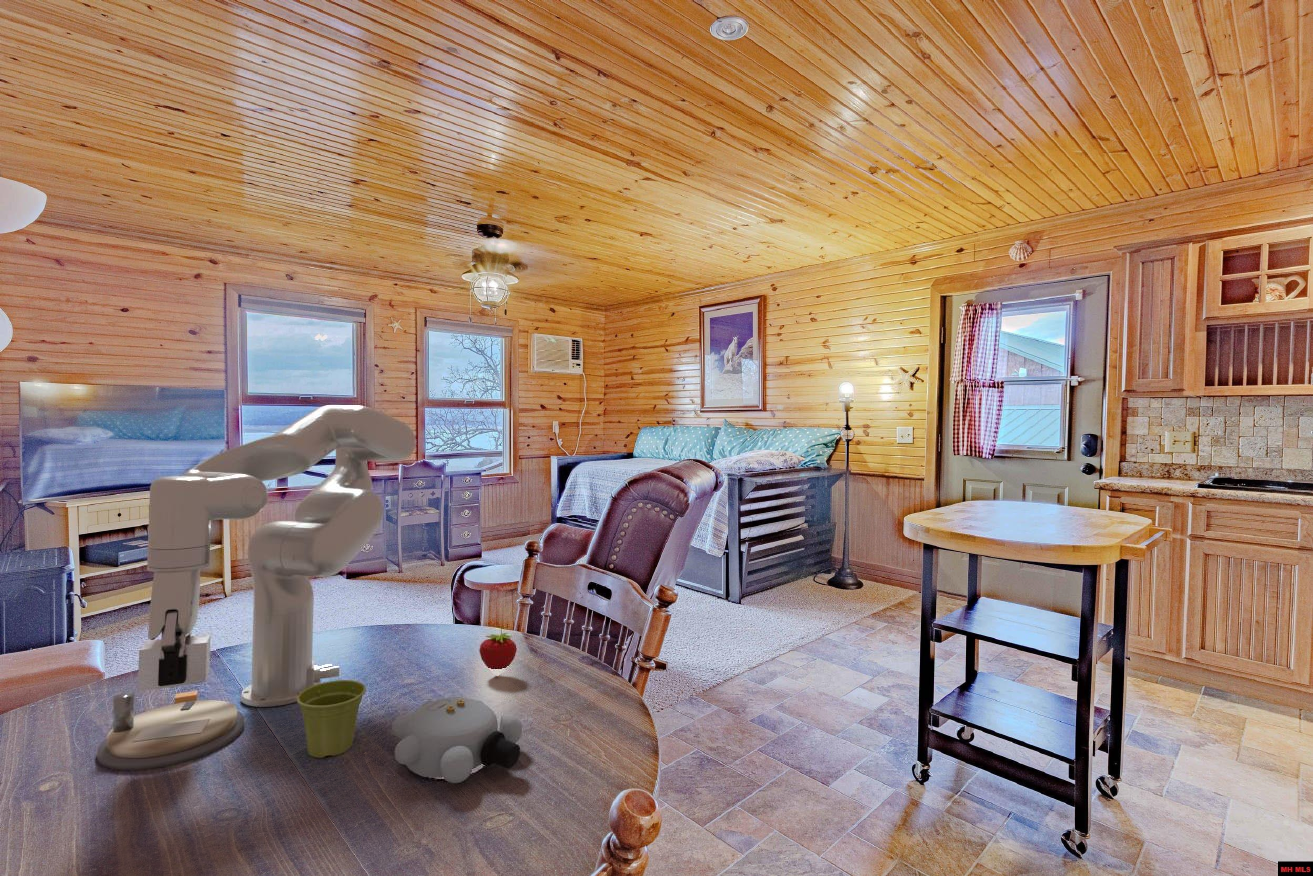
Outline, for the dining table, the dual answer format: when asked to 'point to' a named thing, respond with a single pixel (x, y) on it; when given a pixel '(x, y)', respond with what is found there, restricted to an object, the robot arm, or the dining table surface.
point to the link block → (195, 664)
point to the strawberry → (498, 651)
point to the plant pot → (330, 716)
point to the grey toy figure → (455, 738)
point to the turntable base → (174, 758)
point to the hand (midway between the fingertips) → (175, 676)
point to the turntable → (166, 726)
